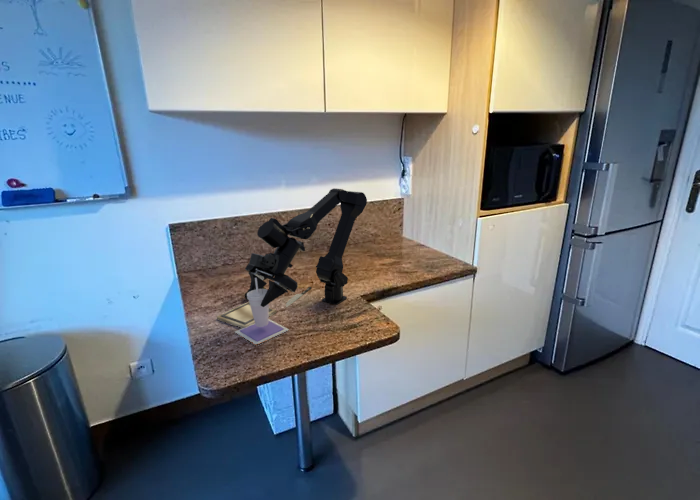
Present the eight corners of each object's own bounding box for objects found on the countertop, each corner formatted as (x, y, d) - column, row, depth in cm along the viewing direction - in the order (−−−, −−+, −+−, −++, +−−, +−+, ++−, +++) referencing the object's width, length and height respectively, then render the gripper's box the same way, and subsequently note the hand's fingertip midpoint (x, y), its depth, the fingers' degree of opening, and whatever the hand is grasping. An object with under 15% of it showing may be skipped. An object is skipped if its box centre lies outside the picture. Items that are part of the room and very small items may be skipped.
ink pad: (267, 319, 114) (266, 317, 113) (288, 331, 106) (288, 328, 106) (235, 333, 106) (234, 330, 106) (256, 346, 99) (255, 343, 98)
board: (249, 304, 125) (248, 300, 125) (276, 312, 118) (276, 309, 118) (217, 319, 115) (216, 315, 115) (245, 329, 108) (244, 325, 108)
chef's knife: (276, 309, 122) (284, 310, 121) (276, 306, 122) (283, 307, 121) (305, 288, 139) (312, 288, 138) (305, 285, 139) (311, 286, 137)
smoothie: (268, 316, 110) (263, 272, 106) (276, 324, 105) (271, 279, 101) (247, 322, 107) (241, 278, 102) (255, 331, 101) (249, 284, 97)
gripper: (246, 236, 108) (217, 282, 103) (285, 247, 95) (253, 299, 91) (271, 255, 115) (245, 299, 111) (310, 267, 103) (282, 317, 99)
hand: (255, 303), depth 103 cm, fingers closed on smoothie, 6 cm apart
